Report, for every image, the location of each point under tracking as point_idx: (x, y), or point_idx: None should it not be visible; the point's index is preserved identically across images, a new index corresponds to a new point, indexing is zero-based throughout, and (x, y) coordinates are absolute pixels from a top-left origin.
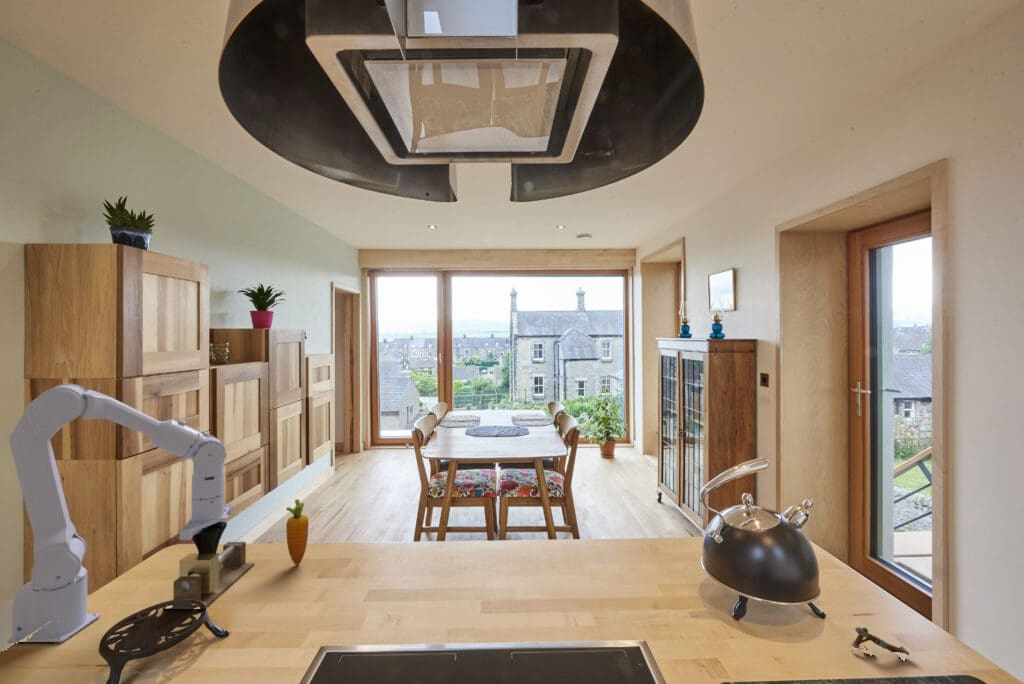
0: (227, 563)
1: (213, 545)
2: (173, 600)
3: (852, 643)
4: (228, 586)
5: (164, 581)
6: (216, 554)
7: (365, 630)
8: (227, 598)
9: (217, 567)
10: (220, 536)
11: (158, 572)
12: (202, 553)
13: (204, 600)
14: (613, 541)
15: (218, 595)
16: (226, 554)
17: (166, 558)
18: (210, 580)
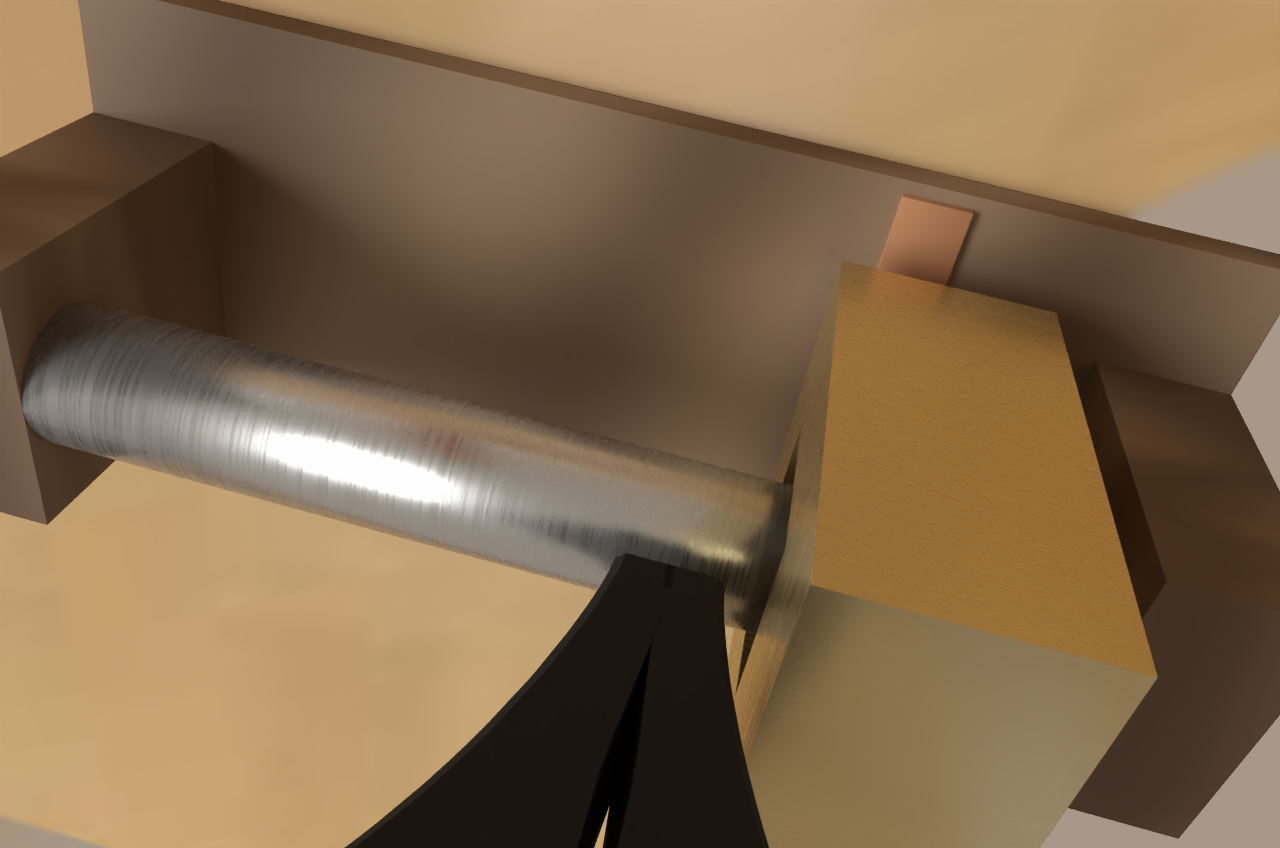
0: (198, 328)
1: (704, 806)
2: None
3: None
4: (748, 136)
5: (468, 735)
6: (858, 614)
7: None
8: (1061, 46)
9: (871, 425)
10: (431, 832)
11: (310, 795)
12: None
13: (1095, 325)
14: None
15: (982, 193)
16: (291, 409)
17: (82, 794)
18: (1066, 404)
